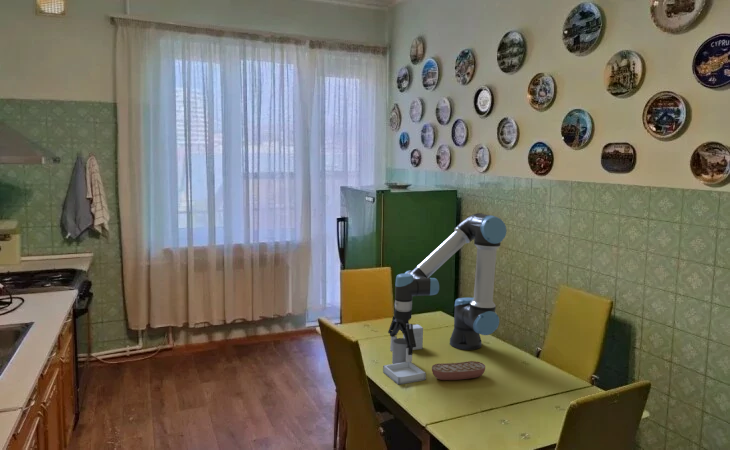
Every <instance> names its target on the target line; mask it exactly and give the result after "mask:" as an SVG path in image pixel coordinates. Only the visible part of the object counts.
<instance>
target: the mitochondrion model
mask: <svg viewBox="0 0 730 450" xmlns="http://www.w3.org/2000/svg"><path fill="white" fill-rule="evenodd" d="M485 371H486V364H485V363H483V362H480V361H475V360H473V361H472V360H469V361H463V362H455V363H454V362H451V363H450V362H449V363H436V364H433V365H432V367H431V372H432V375H433V376H434V377H435V378H436V379H438V380H441V381H458V380H467V379H474V378H475V379H476V378H480V377H481V376H482V375H483V374H484V373H485Z"/></svg>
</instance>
